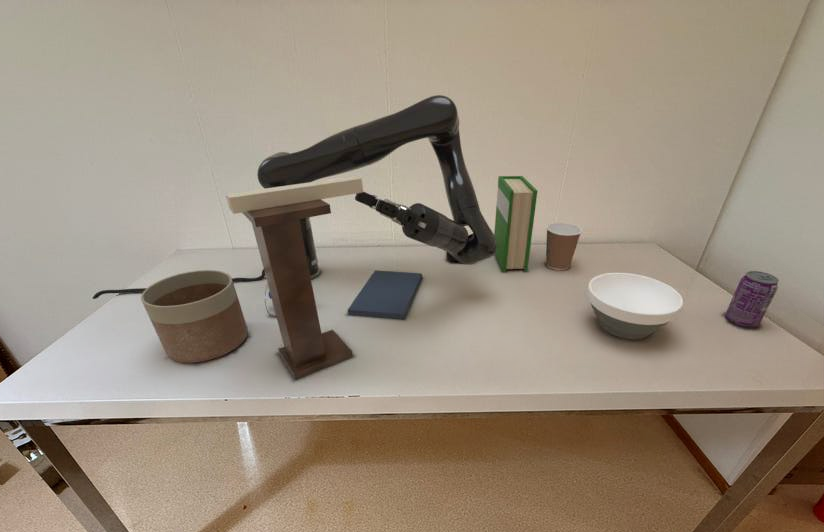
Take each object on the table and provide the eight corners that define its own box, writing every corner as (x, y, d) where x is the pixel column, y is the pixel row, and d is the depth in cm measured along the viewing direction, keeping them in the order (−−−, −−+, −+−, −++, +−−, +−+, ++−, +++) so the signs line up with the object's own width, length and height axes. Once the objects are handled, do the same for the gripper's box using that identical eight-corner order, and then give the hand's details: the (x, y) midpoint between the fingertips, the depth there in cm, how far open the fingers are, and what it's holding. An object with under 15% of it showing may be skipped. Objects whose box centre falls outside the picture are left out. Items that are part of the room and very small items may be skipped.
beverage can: (753, 316, 96) (775, 272, 90) (762, 331, 91) (786, 285, 84) (720, 311, 98) (739, 268, 92) (728, 325, 93) (748, 280, 86)
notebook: (348, 314, 95) (347, 309, 95) (375, 274, 114) (375, 270, 114) (404, 319, 94) (403, 314, 93) (422, 278, 113) (422, 273, 112)
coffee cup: (548, 256, 127) (554, 220, 121) (579, 264, 122) (587, 227, 116) (535, 266, 120) (540, 229, 114) (567, 275, 115) (574, 237, 109)
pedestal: (295, 379, 75) (253, 217, 58) (279, 354, 82) (237, 202, 65) (352, 356, 81) (329, 204, 65) (333, 334, 88) (308, 191, 71)
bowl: (689, 347, 85) (704, 310, 80) (606, 356, 82) (617, 318, 77) (638, 303, 101) (648, 269, 96) (567, 308, 99) (574, 275, 94)
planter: (173, 331, 89) (149, 277, 82) (249, 317, 94) (233, 265, 87) (160, 373, 76) (131, 313, 69) (248, 354, 82) (230, 297, 75)
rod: (233, 213, 60) (228, 197, 59) (229, 210, 62) (225, 194, 60) (363, 192, 71) (361, 178, 70) (357, 189, 73) (355, 175, 72)
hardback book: (527, 271, 117) (537, 190, 105) (502, 272, 117) (510, 190, 104) (514, 249, 132) (522, 175, 120) (493, 249, 132) (498, 176, 119)
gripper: (417, 202, 89) (357, 173, 78) (455, 219, 80) (393, 188, 68) (404, 233, 91) (343, 209, 79) (440, 252, 81) (377, 228, 70)
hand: (366, 199), depth 74 cm, fingers open, 8 cm apart
